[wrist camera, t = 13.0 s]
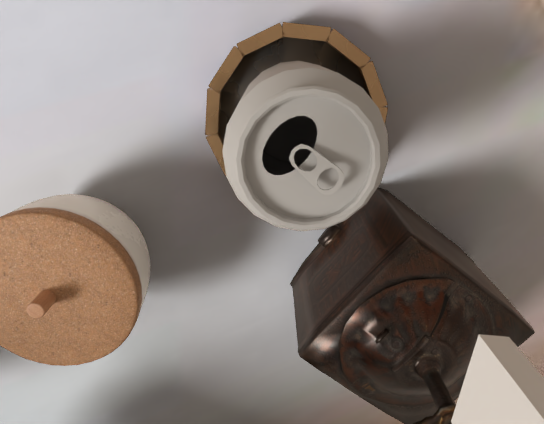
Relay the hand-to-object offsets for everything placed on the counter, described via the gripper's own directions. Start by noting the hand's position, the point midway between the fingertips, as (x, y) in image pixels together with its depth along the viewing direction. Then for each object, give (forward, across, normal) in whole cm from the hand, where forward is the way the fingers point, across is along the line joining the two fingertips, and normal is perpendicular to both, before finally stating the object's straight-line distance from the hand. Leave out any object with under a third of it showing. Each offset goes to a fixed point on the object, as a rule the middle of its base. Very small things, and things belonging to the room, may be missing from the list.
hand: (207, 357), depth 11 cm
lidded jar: (+22, +11, +8) cm, 26 cm away
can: (+21, -3, -3) cm, 21 cm away
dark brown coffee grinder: (+22, -10, +10) cm, 26 cm away
